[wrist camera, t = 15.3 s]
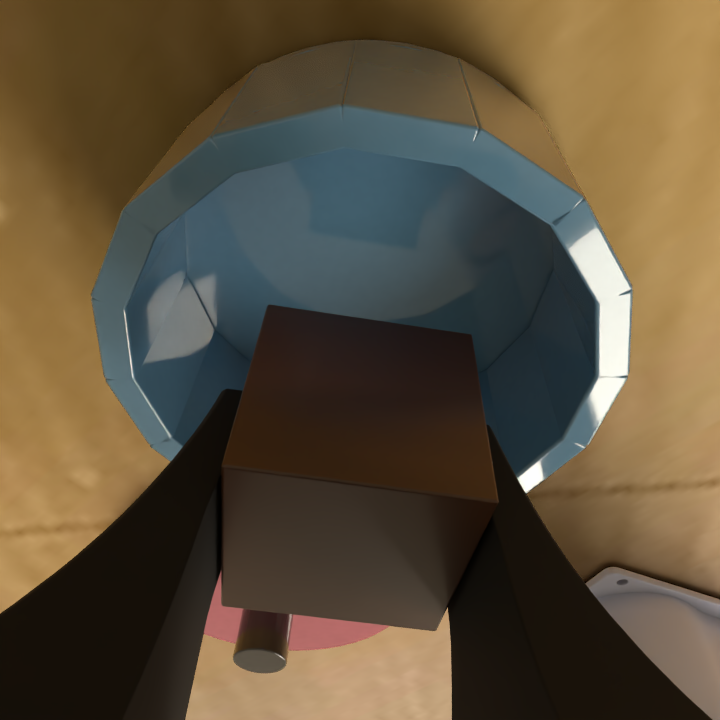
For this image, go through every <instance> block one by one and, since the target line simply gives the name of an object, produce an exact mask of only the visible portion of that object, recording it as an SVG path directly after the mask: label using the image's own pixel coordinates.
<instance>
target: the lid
mask: <svg viewBox="0 0 720 720" xmlns="http://www.w3.org/2000/svg"><path fill="white" fill-rule="evenodd" d="M387 627H389V626H386V625H378V624H369V623H361V622H352V621H344V620H335V619H326V618H318V617H309V616H301V615H292V614H284V613H275V612H267V611H258V610H250V609H241V608H232V607H224V606H222V604H221V572H220V575H219V578H218V581H217V585H216V588H215V591H214V594H213V598H212V601H211V605H210V608H209V612H208V616H207V620H206V625H205V629H204V634H205V635H208V636H211V637H214V638H217V639H220V640H224V641H228V642H231V643H235V649H234V654H233V660H234V662H235V664H236V665H238V666H239V667H241V668H243V669H245V670H248V671H251V672H256V673H273V672H278V671H280V670H282V669H284V668H285V666H286V664H287V658H288V650H295V651H299V650H317V649H327V648H333V647H338V646H343V645H347V644H351V643H355V642H358V641H361V640H364V639H366V638H369V637H371V636H373V635H375V634H377V633H379V632H381V631H383V630H384V629H386V628H387Z"/></svg>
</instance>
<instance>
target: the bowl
mask: <svg viewBox="0 0 720 720" xmlns="http://www.w3.org/2000/svg"><path fill="white" fill-rule="evenodd" d="M91 297H92V298H91V301H92V307H93V313H94V319H95V325H96V331H97V337H98V343H99V349H100V355H101V361H102V367H103V373H104V377H105V378H106V382H107V384H108V385H109V387H110V388H111V390H112V391H113V393H114V394H115V396H116V397H117V399H118V400H119V401H120V403H121V404H122V406H123V407H124V409H125V410H126V412H127V413H128V415H129V416H130V418H131V419H132V421H133V422H134V423H135V425H136V426H137V428H138V429H139V431H140V432H141V434H142V435H143V437H144V438H145V440H146V441H147V442H148V444H150V447H151V448H153V449H154V450H155V451H157V452H158V453H160V454H161V455H162V456H164V457H165V458H166V459H168V460H169V461H170V462H171V461H172V460H173V458H174V457H175V456H176V455H177V453H178V452H179V451H180V450H181V448H182V447H183V446H184V445H185V443H186V442H187V441H188V440H189V438H190V437H191V436H192V435H193V433H194V432H195V430H196V429H197V428H198V426H199V425H200V424H201V422H202V421H203V419H204V418H205V417H206V415H207V414H208V412H209V411H210V409H211V408H212V406H213V405H214V403H215V401H216V400H217V398H218V396H219V395H220V393H221V391H223V390H225V389H227V388H228V389H235V390H242V391H243V388H244V385H245V381H246V378H247V374H248V371H249V367H250V364H251V360H252V357H253V353H254V350H255V346H256V343H257V339H258V336H259V332H260V329H261V325H262V322H263V318H264V315H265V311H266V308H267V306H268V305H277V306H283V307H290V308H297V309H304V310H311V311H317V312H324V313H331V314H338V315H344V316H351V317H358V318H365V319H371V320H378V321H385V322H392V323H398V324H405V325H412V326H419V327H425V328H432V329H439V330H446V331H452V332H459V333H466V334H471V335H472V339H473V345H474V351H475V357H476V364H477V370H478V376H479V382H480V389H481V395H482V401H483V407H484V413H485V420H486V424H487V425H489V426H490V427H491V429H492V430H493V432H494V434H495V436H496V438H497V440H498V442H499V444H500V446H501V448H502V450H503V452H504V454H505V456H506V458H507V460H508V462H509V464H510V466H511V467H512V469H513V471H514V473H515V475H516V477H517V479H518V481H519V482H520V484H521V486H522V488H523V489H524V491H525V493H526V494H527V493H528V492H529V491H531V490H532V489H533V488H534V487H536V486H537V485H538V484H540V483H541V482H542V481H544V480H545V479H546V478H547V477H549V476H550V475H551V474H553V473H554V472H555V471H556V470H558V469H559V468H560V467H562V466H563V465H564V464H566V463H567V462H568V461H569V460H571V459H572V458H573V457H575V456H576V455H577V454H578V453H580V452H581V451H582V450H584V449H585V448H586V446H587V445H589V444H590V442H591V440H592V439H593V437H594V435H595V433H596V432H597V430H598V428H599V427H600V425H601V423H602V421H603V420H604V418H605V416H606V415H607V413H608V411H609V410H610V408H611V406H612V404H613V403H614V401H615V399H616V398H617V396H618V394H619V392H620V391H621V389H622V387H623V386H624V384H625V382H626V380H627V378H628V374H629V371H630V347H631V324H632V301H633V290H632V284H631V282H630V280H629V278H628V276H627V275H626V273H625V271H624V269H623V267H622V265H621V263H620V261H619V260H618V258H617V256H616V254H615V252H614V250H613V248H612V246H611V245H610V243H609V241H608V239H607V237H606V235H605V233H604V231H603V230H602V228H601V226H600V224H599V222H598V220H597V218H596V216H595V215H594V213H593V211H592V209H591V207H590V205H589V203H588V201H587V200H586V198H585V196H584V194H583V192H582V191H581V189H580V187H579V185H578V183H577V182H576V180H575V178H574V176H573V174H572V173H571V171H570V169H569V167H568V165H567V164H566V162H565V160H564V158H563V157H562V155H561V153H560V151H559V149H558V148H557V146H556V144H555V142H554V140H553V139H552V137H551V135H550V133H549V131H548V130H547V128H546V126H545V124H544V123H543V121H542V119H541V117H540V116H539V115H538V114H537V112H536V111H534V110H533V109H531V108H530V107H529V106H527V105H526V104H524V103H523V102H522V101H521V100H520V99H519V98H518V97H516V96H515V95H514V94H513V93H512V92H510V91H509V90H508V89H507V88H506V87H504V86H503V85H502V84H501V83H500V82H498V81H497V80H496V79H494V78H492V77H491V76H489V75H487V74H486V73H484V72H482V71H481V70H479V69H477V68H476V67H474V66H472V65H471V64H469V63H466V62H465V61H464V60H462V59H461V58H457V57H454V56H450V55H447V54H445V53H442V52H440V51H436V50H432V49H428V48H424V47H420V46H417V45H413V44H409V43H401V42H391V41H382V40H350V41H338V42H333V43H328V44H323V45H317V46H312V47H307V48H304V49H302V50H299V51H296V52H293V53H290V54H287V55H284V56H281V57H279V58H276V59H274V60H273V61H271V62H268V63H264V64H260V65H259V66H256V67H254V68H253V69H252V70H251V71H250V72H249V73H247V74H246V75H245V76H244V77H243V78H242V79H240V80H239V81H238V82H236V83H235V84H233V85H232V86H231V87H229V88H228V89H227V90H225V91H224V92H223V93H222V94H221V95H220V96H219V97H218V98H217V99H216V100H215V101H214V102H213V103H212V104H211V105H210V106H209V107H208V108H207V109H206V110H205V111H203V112H202V113H201V114H200V115H199V116H198V117H197V118H195V119H194V120H193V121H192V122H191V123H190V124H189V125H188V126H187V127H186V128H185V130H184V131H183V132H182V134H181V135H180V136H179V137H178V139H177V140H176V141H175V143H174V144H173V145H172V146H171V148H170V149H169V150H168V152H167V153H166V154H165V155H164V157H163V158H162V159H161V161H160V162H159V163H158V164H157V166H156V167H155V168H154V170H153V171H152V172H151V173H150V175H149V176H148V177H147V179H146V180H145V181H144V182H143V184H142V185H141V186H140V188H139V189H138V190H137V191H136V193H135V194H134V195H133V197H132V198H131V199H130V200H129V202H128V203H127V204H126V206H125V207H124V209H123V210H122V212H121V214H120V217H119V220H118V222H117V225H116V228H115V230H114V233H113V236H112V238H111V241H110V244H109V247H108V249H107V252H106V255H105V257H104V260H103V263H102V265H101V268H100V271H99V274H98V276H97V279H96V282H95V284H94V287H93V290H92V292H91Z"/></svg>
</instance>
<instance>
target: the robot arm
mask: <svg viewBox="0 0 720 720" xmlns="http://www.w3.org/2000/svg"><path fill="white" fill-rule="evenodd" d="M242 392H243V391H242V390H235V389H228V388H227V389H225V390H223V391H221V393H220V395H219V396H218V398H217V400H216V401H215V403H214V405H213V406H212V408H211V409H210V411H209V412H208V414H207V415H206V417H205V418H204V419H203V421H202V422H201V424H200V425H199V426H198V428H197V429H196V430H195V432H194V433H193V435H192V436H191V437H190V438H189V440H188V441H187V442H186V443H185V445H184V446H183V447H182V448H181V450H180V451H179V452H178V453H177V455H176V456H175V457H174V458H173V460H172V461H171V462H170V463H169V464H168V466H167V467H166V468H165V469H164V470H163V471H162V472H161V473H160V475H159V476H158V477H157V478H156V479H155V480H154V481H153V482H152V483H151V485H150V486H149V487H148V488H147V489H146V490H145V491H144V492H143V493H142V494H141V496H140V497H139V498H138V499H137V500H136V501H135V502H134V503H133V504H132V505H131V506H130V507H129V508H128V509H127V510H126V511H125V512H124V513H123V514H122V515H121V516H120V517H119V518H118V519H116V520H115V521H114V522H113V523H112V524H111V525H110V526H109V527H108V528H107V529H106V530H105V531H104V532H103V533H102V534H100V535H99V536H98V537H97V538H96V539H95V540H94V541H92V542H91V543H90V544H89V545H88V546H87V547H86V548H84V549H83V550H82V551H81V552H80V553H79V554H78V555H76V556H75V557H74V558H73V559H72V560H70V561H69V562H68V563H67V564H66V565H64V566H63V567H62V568H61V569H59V570H58V571H57V572H56V573H54V574H53V575H52V576H50V577H49V578H48V579H46V580H45V581H44V582H42V583H41V584H40V585H38V586H37V587H36V588H34V589H33V590H32V591H30V592H29V593H28V594H26V595H25V596H24V597H23V598H21V599H20V600H19V601H17V602H16V603H15V604H13V605H12V606H10V607H9V608H8V609H6V610H5V611H3V612H2V613H1V614H0V720H185V717H186V713H187V708H188V703H189V698H190V694H191V689H192V684H193V680H194V675H195V670H196V666H197V661H198V656H199V652H200V647H201V643H202V638H203V634H204V629H205V625H206V620H207V616H208V612H209V608H210V605H211V601H212V598H213V594H214V591H215V588H216V585H217V581H218V578H219V575H220V572H221V465H222V462H223V458H224V455H225V451H226V448H227V444H228V441H229V437H230V434H231V430H232V427H233V423H234V420H235V416H236V413H237V409H238V406H239V402H240V399H241V395H242ZM486 426H487V432H488V438H489V445H490V451H491V457H492V463H493V470H494V476H495V482H496V488H497V495H498V501H499V502H498V505H497V507H496V509H495V511H494V513H493V515H492V517H491V519H490V521H489V523H488V525H487V527H486V529H485V531H484V533H483V535H482V537H481V539H480V542H479V544H478V546H477V548H476V550H475V552H474V554H473V556H472V558H471V560H470V562H469V564H468V566H467V568H466V570H465V572H464V574H463V576H462V578H461V580H460V583H459V585H458V587H457V589H456V591H455V593H454V595H453V597H452V599H451V601H450V603H449V605H448V613H449V622H450V635H451V665H452V720H720V599H717V598H714V597H711V596H708V595H704V594H701V593H698V592H695V591H692V590H688V589H685V588H682V587H679V586H676V585H672V584H669V583H666V582H663V581H660V580H656V579H653V578H650V577H647V576H644V575H640V574H637V573H634V572H631V571H628V570H624V569H621V568H618V567H608V568H606V569H604V570H602V571H601V572H600V573H598V574H597V575H596V576H594V577H593V578H592V579H591V580H589V581H588V582H587V583H584V581H583V580H582V579H581V577H580V576H579V575H578V573H577V572H576V571H575V569H574V568H573V567H572V565H571V564H570V562H569V561H568V559H567V558H566V557H565V555H564V554H563V552H562V551H561V549H560V548H559V546H558V545H557V543H556V542H555V540H554V539H553V537H552V536H551V534H550V533H549V531H548V530H547V528H546V526H545V525H544V523H543V522H542V520H541V518H540V517H539V515H538V513H537V512H536V510H535V508H534V507H533V505H532V503H531V501H530V500H529V498H528V496H527V495H526V493H525V491H524V489H523V488H522V486H521V484H520V482H519V481H518V479H517V477H516V475H515V473H514V471H513V469H512V467H511V466H510V464H509V462H508V460H507V458H506V456H505V454H504V452H503V450H502V448H501V446H500V444H499V442H498V440H497V438H496V436H495V434H494V432H493V430H492V429H491V427H490V426H489V425H487V424H486Z"/></svg>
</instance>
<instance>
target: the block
mask: <svg viewBox="0 0 720 720" xmlns="http://www.w3.org/2000/svg"><path fill="white" fill-rule="evenodd" d="M498 502H499V501H498V495H497V488H496V482H495V476H494V470H493V463H492V457H491V451H490V445H489V438H488V432H487V426H486V420H485V413H484V407H483V401H482V395H481V389H480V382H479V376H478V370H477V364H476V357H475V351H474V345H473V339H472V335H471V334H466V333H459V332H452V331H446V330H439V329H432V328H425V327H419V326H412V325H405V324H398V323H392V322H385V321H378V320H371V319H365V318H358V317H351V316H344V315H338V314H331V313H324V312H317V311H311V310H304V309H297V308H290V307H283V306H277V305H268V306H267V308H266V311H265V315H264V318H263V322H262V325H261V329H260V332H259V336H258V339H257V343H256V346H255V350H254V353H253V357H252V360H251V364H250V367H249V371H248V374H247V378H246V381H245V385H244V388H243V392H242V395H241V399H240V402H239V406H238V409H237V413H236V416H235V420H234V423H233V427H232V430H231V434H230V437H229V441H228V444H227V448H226V451H225V455H224V458H223V462H222V465H221V604H222V606H224V607H232V608H241V609H250V610H258V611H267V612H275V613H284V614H292V615H301V616H309V617H318V618H326V619H335V620H344V621H352V622H361V623H369V624H378V625H386V626H395V627H403V628H412V629H421V630H429V631H436V630H437V628H438V626H439V624H440V622H441V619H442V617H443V615H444V613H445V611H446V609H447V607H448V605H449V603H450V601H451V599H452V597H453V595H454V593H455V591H456V589H457V587H458V585H459V583H460V580H461V578H462V576H463V574H464V572H465V570H466V568H467V566H468V564H469V562H470V560H471V558H472V556H473V554H474V552H475V550H476V548H477V546H478V544H479V542H480V539H481V537H482V535H483V533H484V531H485V529H486V527H487V525H488V523H489V521H490V519H491V517H492V515H493V513H494V511H495V509H496V507H497V505H498Z"/></svg>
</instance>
